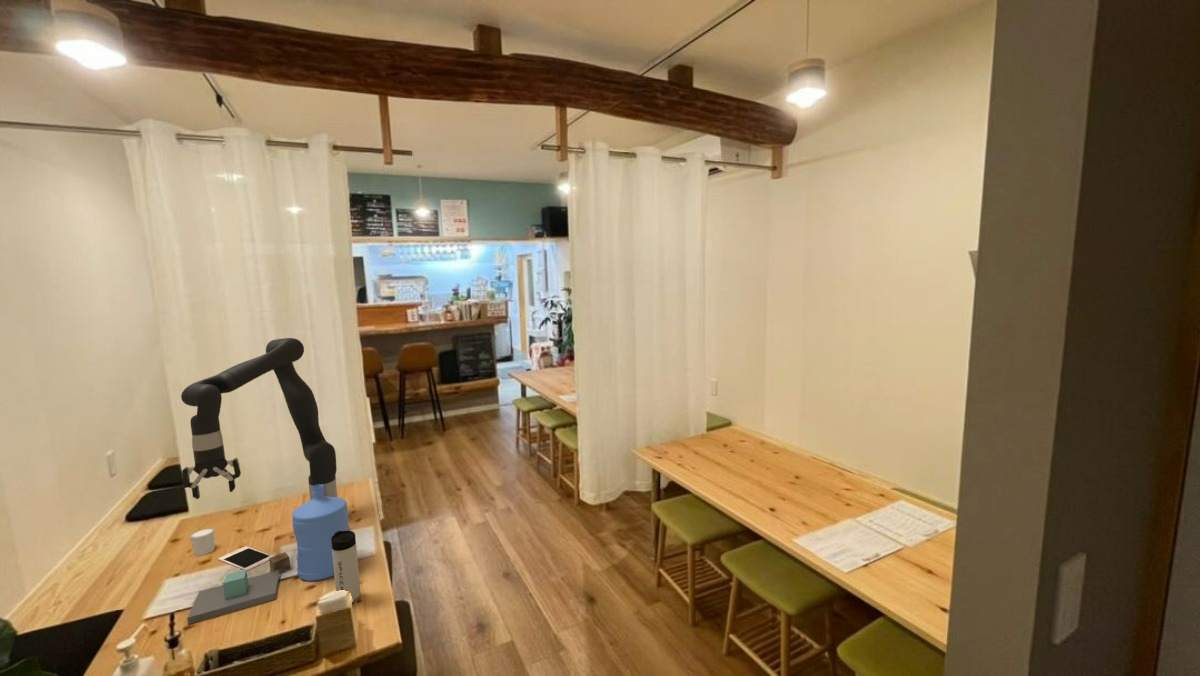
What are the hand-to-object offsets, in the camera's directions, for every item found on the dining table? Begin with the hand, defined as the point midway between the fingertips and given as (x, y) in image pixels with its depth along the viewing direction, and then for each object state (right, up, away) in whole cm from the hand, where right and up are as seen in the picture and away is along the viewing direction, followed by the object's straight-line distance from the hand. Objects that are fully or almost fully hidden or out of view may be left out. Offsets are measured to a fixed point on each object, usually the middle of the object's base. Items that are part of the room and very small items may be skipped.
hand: (214, 494), depth 153 cm
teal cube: (+16, -26, -11) cm, 32 cm away
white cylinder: (-18, -26, +17) cm, 36 cm away
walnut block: (+19, -26, +4) cm, 32 cm away
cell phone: (+2, -27, +11) cm, 29 cm away
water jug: (+34, -26, +4) cm, 42 cm away
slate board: (+16, -28, -11) cm, 33 cm away
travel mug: (+50, -27, -13) cm, 58 cm away
